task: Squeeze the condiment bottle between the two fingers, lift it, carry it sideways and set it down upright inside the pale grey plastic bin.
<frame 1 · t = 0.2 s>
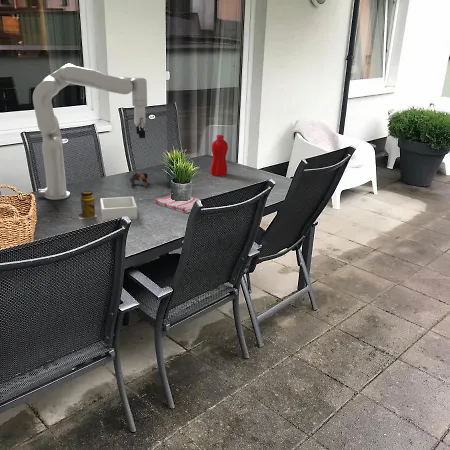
hand: (140, 135, 250), 31 cm above the table, tool pointing down, fingers open, 9 cm apart
bin: (118, 214, 230), on the table
dish towel: (181, 205, 246), on the table
condiment: (86, 216, 226), on the table
brown jointed arch figure: (140, 185, 273), on the table
water bottle: (217, 175, 296), on the table
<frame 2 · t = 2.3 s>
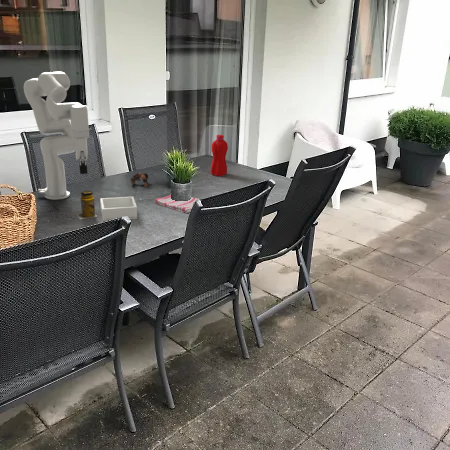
hand: (83, 170, 218), 22 cm above the table, tool pointing down, fingers open, 9 cm apart
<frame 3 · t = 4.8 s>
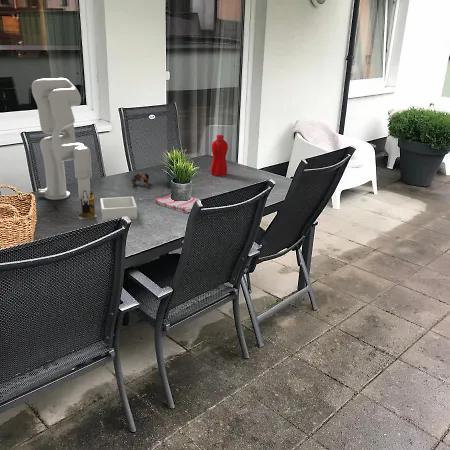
hand: (86, 209, 225), 3 cm above the table, tool pointing down, fingers closed on condiment, 6 cm apart
condiment: (86, 216, 226), on the table, touching gripper
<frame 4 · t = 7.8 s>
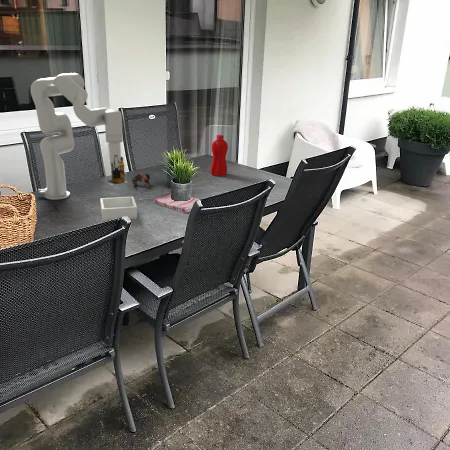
hand: (116, 175, 222), 20 cm above the table, tool pointing down, fingers closed on condiment, 6 cm apart
condiment: (116, 182, 223), point 16 cm above the table, touching gripper
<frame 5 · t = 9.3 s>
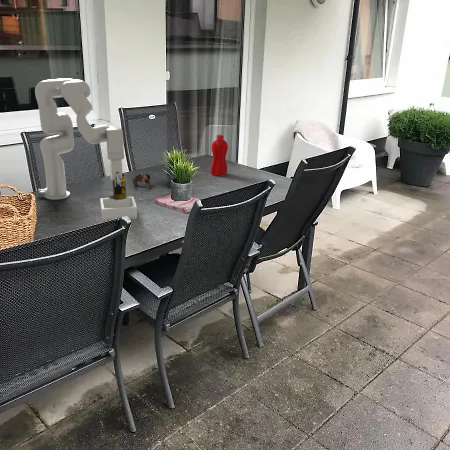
hand: (117, 191, 225), 12 cm above the table, tool pointing down, fingers closed on condiment, 6 cm apart
condiment: (118, 198, 226), point 8 cm above the table, touching gripper
when the fingers open (6 cm above the table, at t = 10.8 s): condiment drops 2 cm, resting on bin.
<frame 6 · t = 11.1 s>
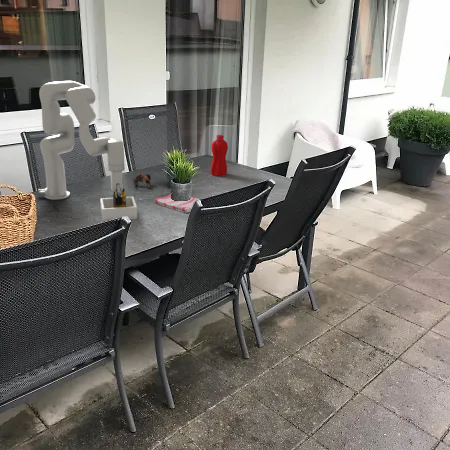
hand: (118, 201, 227), 7 cm above the table, tool pointing down, fingers open, 8 cm apart
condiment: (118, 212, 229), point 1 cm above the table, touching bin
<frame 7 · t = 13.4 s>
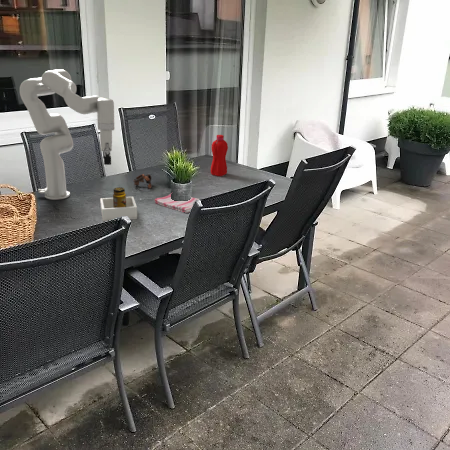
hand: (107, 161, 226), 24 cm above the table, tool pointing down, fingers open, 9 cm apart
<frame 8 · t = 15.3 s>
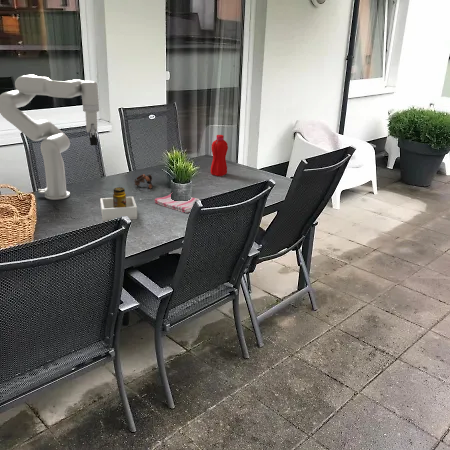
hand: (93, 142, 234), 30 cm above the table, tool pointing down, fingers open, 9 cm apart
at the end: condiment inside the target area on the bin (0.1 cm from its centre), point 0.8 cm above the bin's base; condiment tilted 0°; the gripper is holding nothing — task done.
